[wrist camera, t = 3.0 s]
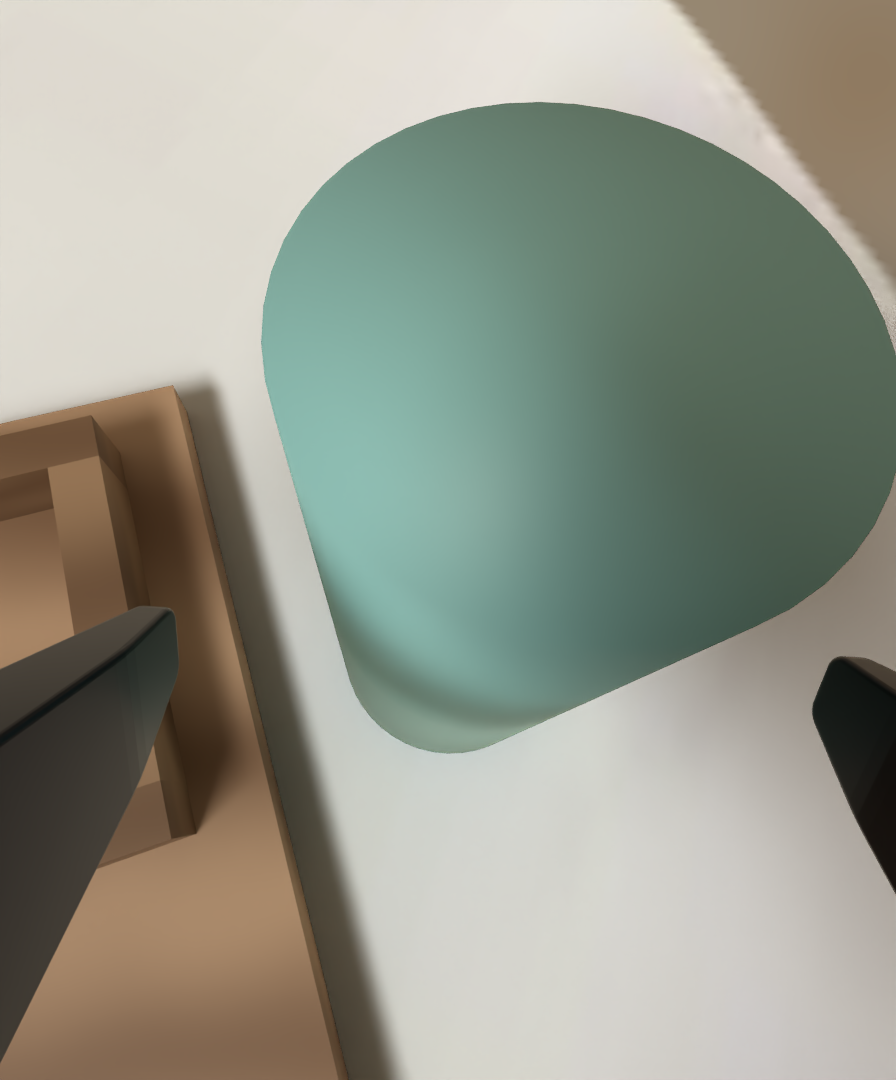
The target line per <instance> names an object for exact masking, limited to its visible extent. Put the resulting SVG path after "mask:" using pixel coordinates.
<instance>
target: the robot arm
mask: <svg viewBox="0 0 896 1080" xmlns="http://www.w3.org/2000/svg"><path fill="white" fill-rule="evenodd" d="M178 669H179V653H178V641H177V628H176V618H175V614H174V612H173V611H172V609H170V608H167V607H157V606H138V607H135V608H133V609H131V610H129V611H127V612H124V613H122V614H120V615H118V616H116V617H113V618H111V619H109V620H107V621H105V622H102V623H100V624H98V625H96V626H94V627H91V628H89V629H87V630H85V631H83V632H80V633H78V634H76V635H74V636H72V637H69V638H67V639H65V640H63V641H61V642H58V643H56V644H54V645H52V646H50V647H47V648H45V649H43V650H41V651H39V652H36V653H34V654H32V655H30V656H27V657H25V658H23V659H21V660H19V661H16V662H14V663H12V664H10V665H8V666H5V667H3V668H1V669H0V1063H1V1061H2V1059H3V1057H4V1055H5V1053H6V1051H7V1049H8V1047H9V1045H10V1043H11V1041H12V1039H13V1037H14V1035H15V1033H16V1031H17V1029H18V1027H19V1025H20V1023H21V1021H22V1019H23V1017H24V1015H25V1013H26V1011H27V1009H28V1007H29V1005H30V1002H31V1000H32V998H33V996H34V994H35V992H36V990H37V988H38V986H39V984H40V982H41V980H42V978H43V976H44V974H45V972H46V970H47V968H48V966H49V964H50V962H51V960H52V958H53V956H54V954H55V952H56V950H57V948H58V946H59V944H60V942H61V940H62V938H63V936H64V934H65V932H66V930H67V928H68V926H69V924H70V922H71V920H72V918H73V916H74V914H75V912H76V910H77V908H78V906H79V903H80V901H81V899H82V897H83V895H84V893H85V891H86V889H87V887H88V885H89V883H90V881H91V879H92V877H93V875H94V873H95V871H96V869H97V867H98V865H99V863H100V861H101V859H102V857H103V855H104V853H105V851H106V849H107V847H108V845H109V843H110V841H111V839H112V837H113V835H114V833H115V831H116V829H117V827H118V825H119V823H120V821H121V819H122V817H123V815H124V813H125V811H126V809H127V807H128V805H129V802H130V800H131V798H132V796H133V794H134V792H135V790H136V788H137V786H138V783H139V781H140V779H141V777H142V774H143V771H144V769H145V766H146V764H147V761H148V758H149V755H150V752H151V750H152V747H153V744H154V741H155V738H156V735H157V733H158V730H159V727H160V724H161V721H162V719H163V716H164V713H165V710H166V707H167V704H168V702H169V699H170V696H171V693H172V690H173V687H174V685H175V682H176V679H177V675H178ZM812 715H813V720H814V723H815V726H816V728H817V730H818V733H819V735H820V737H821V740H822V742H823V745H824V747H825V749H826V752H827V754H828V756H829V759H830V761H831V763H832V766H833V768H834V771H835V773H836V775H837V778H838V780H839V782H840V785H841V787H842V789H843V792H844V794H845V797H846V799H847V801H848V804H849V806H850V808H851V810H852V812H853V815H854V817H855V819H856V821H857V823H858V825H859V827H860V829H861V831H862V833H863V835H864V837H865V839H866V840H867V842H868V844H869V846H870V848H871V850H872V851H873V853H874V855H875V857H876V859H877V861H878V863H879V864H880V866H881V868H882V870H883V872H884V874H885V875H886V877H887V879H888V881H889V883H890V885H891V887H892V888H893V890H894V892H895V894H896V672H895V671H893V670H891V669H889V668H887V667H885V666H883V665H880V664H878V663H876V662H874V661H872V660H870V659H866V658H860V657H846V656H839V657H837V658H834V659H833V660H832V661H831V662H830V663H829V665H828V667H827V670H826V672H825V675H824V677H823V680H822V682H821V685H820V687H819V690H818V692H817V695H816V697H815V700H814V702H813V708H812Z"/></svg>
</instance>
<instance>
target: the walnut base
mask: <svg viewBox="0 0 896 1080" xmlns="http://www.w3.org/2000/svg"><path fill="white" fill-rule="evenodd" d="M138 606H157V607H167V608H170V609H172V611H173V612H174V614H175V618H176V628H177V641H178V653H179V669H178V675H177V679H176V682H175V685H174V687H173V690H172V693H171V696H170V699H169V702H168V704H167V707H166V710H165V713H164V716H163V719H162V721H161V724H160V727H159V730H158V733H157V735H156V738H155V741H154V744H153V747H152V750H151V752H150V755H149V758H148V761H147V764H146V766H145V769H144V771H143V774H142V777H141V779H140V781H139V783H138V786H137V788H136V790H135V792H134V794H133V796H132V798H131V800H130V802H129V805H128V807H127V809H126V811H125V813H124V815H123V817H122V819H121V821H120V823H119V825H118V827H117V829H116V831H115V833H114V835H113V837H112V839H111V841H110V843H109V845H108V847H107V849H106V851H105V853H104V855H103V857H102V859H101V861H100V863H99V865H98V867H97V869H96V871H95V873H94V875H93V877H92V879H91V881H90V883H89V885H88V887H87V889H86V891H85V893H84V895H83V897H82V899H81V901H80V903H79V906H78V908H77V910H76V912H75V914H74V916H73V918H72V920H71V922H70V924H69V926H68V928H67V930H66V932H65V934H64V936H63V938H62V940H61V942H60V944H59V946H58V948H57V950H56V952H55V954H54V956H53V958H52V960H51V962H50V964H49V966H48V968H47V970H46V972H45V974H44V976H43V978H42V980H41V982H40V984H39V986H38V988H37V990H36V992H35V994H34V996H33V998H32V1000H31V1002H30V1005H29V1007H28V1009H27V1011H26V1013H25V1015H24V1017H23V1019H22V1021H21V1023H20V1025H19V1027H18V1029H17V1031H16V1033H15V1035H14V1037H13V1039H12V1041H11V1043H10V1045H9V1047H8V1049H7V1051H6V1053H5V1055H4V1057H3V1059H2V1061H1V1063H0V1080H349V1079H348V1075H347V1071H346V1067H345V1062H344V1058H343V1054H342V1050H341V1046H340V1042H339V1038H338V1034H337V1029H336V1025H335V1021H334V1017H333V1013H332V1009H331V1005H330V1001H329V996H328V992H327V988H326V984H325V980H324V976H323V972H322V968H321V963H320V959H319V955H318V951H317V947H316V943H315V939H314V935H313V930H312V926H311V922H310V918H309V914H308V910H307V906H306V902H305V897H304V893H303V889H302V885H301V881H300V877H299V873H298V869H297V865H296V860H295V856H294V852H293V848H292V844H291V840H290V836H289V832H288V827H287V823H286V819H285V815H284V811H283V807H282V803H281V799H280V794H279V790H278V786H277V782H276V778H275V774H274V770H273V766H272V761H271V757H270V753H269V749H268V745H267V741H266V737H265V733H264V728H263V724H262V720H261V716H260V712H259V708H258V704H257V700H256V695H255V691H254V687H253V683H252V679H251V675H250V671H249V667H248V662H247V658H246V654H245V650H244V646H243V642H242V638H241V634H240V629H239V625H238V621H237V617H236V613H235V609H234V605H233V601H232V596H231V592H230V588H229V584H228V580H227V576H226V572H225V568H224V563H223V559H222V555H221V551H220V547H219V543H218V539H217V535H216V531H215V526H214V522H213V518H212V514H211V510H210V506H209V502H208V498H207V493H206V489H205V485H204V481H203V477H202V473H201V469H200V465H199V460H198V456H197V452H196V448H195V444H194V440H193V436H192V432H191V427H190V423H189V419H188V415H187V412H186V410H185V408H184V406H183V404H182V402H181V400H180V398H179V396H178V394H177V392H176V390H175V388H174V386H173V385H172V386H168V387H163V388H159V389H154V390H150V391H145V392H141V393H136V394H132V395H127V396H123V397H119V398H114V399H110V400H105V401H101V402H96V403H92V404H87V405H83V406H78V407H74V408H69V409H65V410H60V411H56V412H51V413H47V414H42V415H38V416H34V417H29V418H25V419H20V420H16V421H11V422H7V423H2V424H0V669H1V668H3V667H5V666H8V665H10V664H12V663H14V662H16V661H19V660H21V659H23V658H25V657H27V656H30V655H32V654H34V653H36V652H39V651H41V650H43V649H45V648H47V647H50V646H52V645H54V644H56V643H58V642H61V641H63V640H65V639H67V638H69V637H72V636H74V635H76V634H78V633H80V632H83V631H85V630H87V629H89V628H91V627H94V626H96V625H98V624H100V623H102V622H105V621H107V620H109V619H111V618H113V617H116V616H118V615H120V614H122V613H124V612H127V611H129V610H131V609H133V608H135V607H138Z"/></svg>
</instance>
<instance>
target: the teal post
mask: <svg viewBox="0 0 896 1080" xmlns="http://www.w3.org/2000/svg"><path fill="white" fill-rule="evenodd" d="M261 344H262V354H263V364H264V374H265V382H266V386H267V389H268V393H269V397H270V401H271V404H272V408H273V412H274V416H275V420H276V423H277V427H278V430H279V434H280V437H281V441H282V444H283V448H284V451H285V455H286V458H287V462H288V465H289V469H290V472H291V476H292V479H293V483H294V486H295V490H296V493H297V497H298V500H299V504H300V507H301V511H302V514H303V518H304V521H305V525H306V528H307V532H308V535H309V539H310V542H311V546H312V549H313V553H314V556H315V560H316V563H317V567H318V570H319V574H320V577H321V581H322V584H323V588H324V591H325V595H326V598H327V602H328V605H329V609H330V612H331V616H332V619H333V623H334V627H335V630H336V634H337V637H338V641H339V644H340V648H341V651H342V655H343V658H344V662H345V665H346V669H347V672H348V676H349V679H350V682H351V685H352V687H353V689H354V692H355V694H356V696H357V698H358V699H359V701H360V703H361V705H362V706H363V708H364V709H365V710H366V711H367V713H368V714H369V715H370V717H371V718H372V719H373V720H374V721H375V722H376V723H377V724H378V725H379V726H380V727H381V728H383V729H384V730H385V731H387V732H388V733H389V734H391V735H392V736H393V737H395V738H397V739H399V740H401V741H402V742H404V743H406V744H409V745H411V746H414V747H416V748H419V749H423V750H427V751H431V752H438V753H464V752H469V751H475V750H479V749H482V748H485V747H488V746H490V745H493V744H495V743H497V742H499V741H502V740H504V739H506V738H508V737H510V736H513V735H515V734H517V733H519V732H522V731H524V730H526V729H528V728H530V727H533V726H535V725H537V724H539V723H542V722H544V721H546V720H548V719H550V718H553V717H555V716H557V715H559V714H562V713H564V712H566V711H568V710H571V709H573V708H575V707H577V706H579V705H582V704H584V703H586V702H588V701H591V700H593V699H595V698H597V697H599V696H602V695H604V694H606V693H608V692H611V691H613V690H615V689H617V688H619V687H622V686H624V685H626V684H628V683H631V682H633V681H635V680H637V679H640V678H642V677H644V676H646V675H648V674H651V673H653V672H655V671H657V670H660V669H662V668H664V667H666V666H668V665H671V664H673V663H675V662H677V661H680V660H682V659H684V658H686V657H688V656H691V655H693V654H695V653H697V652H700V651H702V650H704V649H706V648H709V647H711V646H713V645H715V644H717V643H720V642H722V641H724V640H726V639H729V638H731V637H733V636H735V635H737V634H740V633H742V632H744V631H746V630H749V629H751V628H753V627H755V626H757V625H759V624H761V623H763V622H765V621H767V620H769V619H771V618H773V617H775V616H777V615H779V614H781V613H783V612H785V611H787V610H789V609H791V608H792V607H794V606H795V605H797V604H798V603H799V602H801V601H802V600H804V599H805V598H806V597H808V596H809V595H811V594H812V593H813V592H815V591H816V590H818V589H819V588H820V587H822V586H823V585H824V584H826V583H827V582H828V581H829V580H830V579H831V578H832V577H833V576H834V574H835V573H836V572H837V571H838V570H839V569H840V568H841V567H842V566H843V565H844V564H845V563H846V562H847V561H848V560H849V559H850V558H851V557H852V556H853V555H854V554H855V552H856V551H857V549H858V548H859V546H860V545H861V544H862V542H863V541H864V539H865V538H866V536H867V535H868V534H869V532H870V531H871V529H872V528H873V527H874V525H875V523H876V521H877V519H878V516H879V514H880V512H881V510H882V508H883V506H884V504H885V502H886V500H887V497H888V495H889V493H890V490H891V487H892V483H893V480H894V476H895V472H896V354H895V351H894V348H893V345H892V342H891V339H890V336H889V333H888V330H887V327H886V324H885V321H884V319H883V317H882V315H881V313H880V310H879V308H878V306H877V304H876V302H875V300H874V298H873V296H872V294H871V292H870V290H869V288H868V286H867V285H866V283H865V282H864V280H863V278H862V277H861V275H860V274H859V272H858V271H857V269H856V267H855V266H854V264H853V263H852V261H851V260H850V258H849V257H848V256H847V254H846V253H845V252H844V251H843V249H842V248H841V247H840V246H839V244H838V243H837V242H836V241H835V239H834V238H833V237H832V236H831V234H830V233H829V232H828V231H827V230H826V229H825V228H824V227H823V226H822V225H821V224H820V223H819V222H818V221H817V220H816V219H815V218H814V217H813V216H812V215H811V214H810V213H809V212H808V211H807V209H806V208H805V207H804V206H803V205H801V204H800V203H799V202H798V201H797V200H795V199H794V198H793V197H792V196H791V195H789V194H788V193H787V192H786V191H785V190H783V189H782V188H781V187H780V186H779V185H777V184H776V183H775V182H774V181H772V180H771V179H769V178H768V177H766V176H765V175H763V174H762V173H760V172H759V171H757V170H756V169H754V168H753V167H752V166H750V165H749V164H747V163H746V162H744V161H742V160H741V159H739V158H737V157H735V156H733V155H731V154H730V153H728V152H726V151H724V150H722V149H721V148H719V147H717V146H715V145H713V144H711V143H709V142H707V141H705V140H702V139H700V138H698V137H696V136H693V135H691V134H689V133H686V132H684V131H682V130H680V129H677V128H674V127H671V126H668V125H665V124H662V123H659V122H656V121H653V120H650V119H647V118H644V117H640V116H636V115H632V114H627V113H623V112H619V111H615V110H611V109H604V108H598V107H591V106H584V105H578V104H563V103H545V102H533V103H508V104H499V105H492V106H484V107H477V108H470V109H466V110H462V111H458V112H454V113H450V114H446V115H442V116H438V117H435V118H433V119H430V120H427V121H424V122H422V123H419V124H416V125H414V126H411V127H408V128H406V129H404V130H402V131H400V132H398V133H396V134H394V135H392V136H390V137H388V138H386V139H384V140H382V141H380V142H378V143H376V144H375V145H373V146H372V147H370V148H369V149H367V150H366V151H364V152H363V153H361V154H360V155H358V156H357V157H355V158H354V159H353V160H351V161H350V162H348V163H347V164H346V165H345V166H344V167H343V168H341V169H340V170H339V171H338V172H337V173H336V174H335V175H334V176H333V177H331V178H330V179H329V180H328V181H327V182H326V183H325V184H324V185H323V186H322V187H321V188H320V189H319V191H318V192H317V193H316V194H315V195H314V197H313V198H312V199H311V200H310V201H309V203H308V204H307V205H306V206H305V207H304V209H303V210H302V211H301V213H300V214H299V216H298V218H297V219H296V221H295V223H294V224H293V226H292V228H291V229H290V231H289V233H288V234H287V236H286V238H285V239H284V242H283V244H282V246H281V249H280V251H279V254H278V256H277V259H276V261H275V264H274V266H273V269H272V271H271V275H270V280H269V284H268V288H267V293H266V297H265V302H264V306H263V323H262V339H261Z"/></svg>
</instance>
